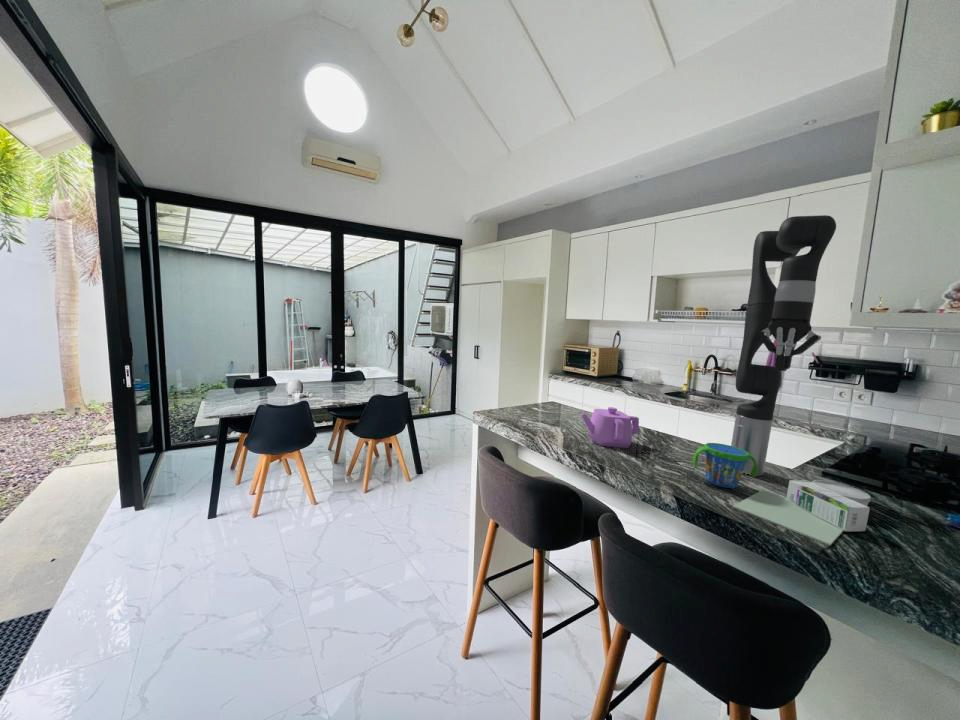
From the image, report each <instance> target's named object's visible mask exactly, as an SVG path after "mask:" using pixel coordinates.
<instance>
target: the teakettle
mask: <svg viewBox="0 0 960 720" xmlns="http://www.w3.org/2000/svg"><path fill="white" fill-rule="evenodd" d="M580 416H581V418H582V419H583V422H584V423H585V426H586V427H587V430H588V434H589V437H590V439H591V440H592V441H593V442H594V443H595V444H596V445H599V446H602V447H610V448H612V447H613V448H623V449H624V448H626V449H629V448H630V446H631V444H632V437H633V436H634V435H636V434H639V429H640V426H639V424H640V422H639V419H640V418H639V417H638V416H633V415H628V414H627V413H624V412H623V411H620V410H618V408H617V407H611V406H609V407H607V409H603V408H594V409H593V412H592V415H591V417H589V416H588V415H587V413H581V414H580Z"/></svg>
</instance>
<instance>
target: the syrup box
mask: <svg viewBox="0 0 960 720" xmlns="http://www.w3.org/2000/svg"><path fill="white" fill-rule="evenodd" d="M786 501H787V502H789V503H791V504H793V505H795V506H797V507H799V508H801V509H803V510H805V511H807V512H809V513H811V514H813V515H815V516H817V517H819V518H821V519H823V520H825V521H827V522H828V523H830V524H832V525H834V526H836V527H838V528H840V529H842V530H844V531H843V532H866V529H867V523H868V519H869V515H870V514H869V513H870V507H869V506H868V505H867V506H865V505H863V504H860V503H858V502H856V501H853V500H851V499H849V498H846V497H844V496H842V495H840V494H837V493H835V492H833V491H830V490H828V489H826V488H823V487H821V486H819V485H816V484H814V483H812V481H810V480H807V479H806V480H804V479H803V480H801V479H797V480H796V479H793V480H791V479H790V480H789V482H788V488H787V494H786Z"/></svg>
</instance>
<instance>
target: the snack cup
mask: <svg viewBox="0 0 960 720" xmlns="http://www.w3.org/2000/svg"><path fill="white" fill-rule="evenodd" d="M702 452H704V453H705V480H706V481H707V482H709V483H710V484H712V485H713V486H717V487H719V488H725V489H733V490H734V489H735V488H737V486H738V485H739V483H740V480H741V478H742V475H743V473H742V471H743V469H744V466H745V464H746V462H747V461H748V459H749V458H751V459H752V460H753V463H754V464H753V468H752V471H751V473H750V475H749V476H750V477H751V478H756V477H757V476H756V475H757V462H756V460H755V459H754V458H753V457H752V456H751V455H749V453H748V452H746V451H745V450H742V449H740V448H737V447H733V446H731V445H729V444H725V443H719V442H718V443H717V442H706V443H705V444H704V445H703V446H700V447H699V448H697V449H696V451H695V452H694V454H693V456H692V465H693V468H694V469H697V463H698V459H699V454H700V453H702Z"/></svg>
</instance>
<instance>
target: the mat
mask: <svg viewBox="0 0 960 720" xmlns="http://www.w3.org/2000/svg"><path fill="white" fill-rule="evenodd" d="M786 498H787V496H783V495H779V494H777V493H773V492H770V491H768V490H765V489H761V490H760V491H758V492H756V493H754V494H752V495H749V496H748V497H746V498H745V499H743V500H741V501H739V502H737V503H735V504H733V505H732V508H733V509H736V510H738V511H740V512H743V513H745V514H748V515H751V516H753V517H756V518H759V519H760V520H764V521H766V522H768V523H771V524H773V525H776V526H778V527H781V528H784V529H787V530H789V531H791V532H794V533H797V534H800V535H802V536H804V537H806V538H810V539H812V540H815V541H817V542H819V543H822V544H824V545H827V546H830V547H831V546H832V545H833V544H834V543H835V541H836V540H837V539H838V538H839V537H840V536H841V535H842V533H844V532H845V531H844V530H842V529H840V528H838V527H836V526H834V525H832V524H830V523H828V522H827V521H825V520H823V519H821V518H819V517H817V516H815V515H813V514H811V513H809V512H807V511H805V510H803V509H801V508H799V507H797V506H795V505H793V504H791V503H789V502H787V501H786Z"/></svg>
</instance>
